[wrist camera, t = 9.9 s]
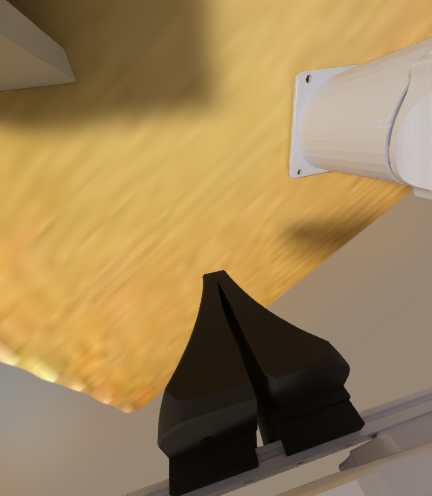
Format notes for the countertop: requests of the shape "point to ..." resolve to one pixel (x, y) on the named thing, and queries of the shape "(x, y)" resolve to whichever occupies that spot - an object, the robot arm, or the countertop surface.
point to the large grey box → (29, 54)
